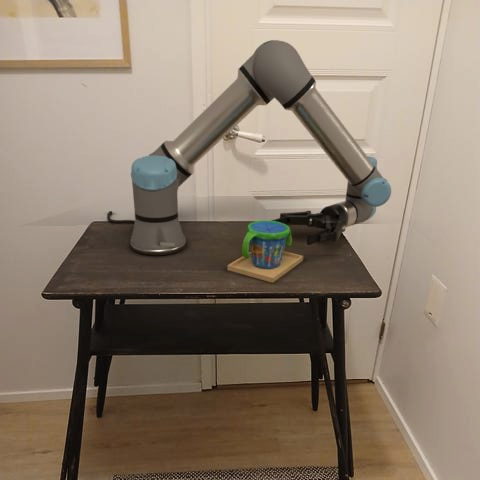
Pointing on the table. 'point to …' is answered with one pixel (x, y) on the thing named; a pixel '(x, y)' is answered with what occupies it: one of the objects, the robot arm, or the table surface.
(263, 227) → the snack cup
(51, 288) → the table surface
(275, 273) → the tray
